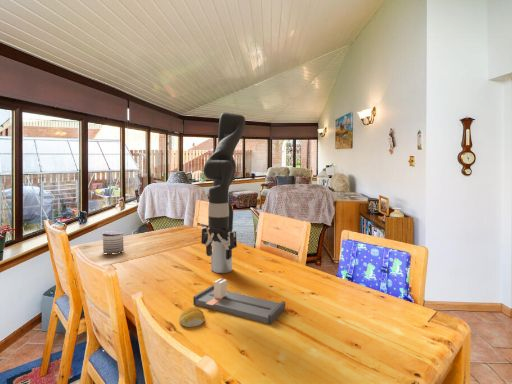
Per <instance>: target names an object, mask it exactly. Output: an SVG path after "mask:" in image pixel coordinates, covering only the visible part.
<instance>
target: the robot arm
mask: <svg viewBox="0 0 512 384" xmlns="http://www.w3.org/2000/svg"><path fill="white" fill-rule="evenodd" d="M245 126H246V118H245V116H244V115H241V114H237V113H231V112H225V111H224V112H222V113H220V116H219V122H218V133H217V134H218V135H217V137H218V139H217V145H216V148H215V150H214V153H212V154H211V156H209V158H208V159H207V160H206V161H205V163H204V166H203V174H204V177H205V178H207V179H209V180H213V185H212V186H210V187H209V189H208V212H207V213H208V220H207V221H208V222H207V223H208V225H207V226H208V227H204V228H202V229H201V244H202V245H205V253H206V256H207V257H210V264H211V265H210V267H211V268H210V269H211V270H210V271H213V272H214V273H215V274H226V273H231V272H232V271H233V252H232V251H233V250H234V249H236V248H237V247H238V245H237V231H233V228H234V227H233V225H234V208H233V207H234V206H233V205H232V203H230V202H229V189H230V186H231V184H232V182H233V181H234V180H235V175H236V160H235V159H234V157H233V155H234V152H235V150H236V147H237V145H238V144H239V142H240V140H241V139H242V136H243V134H244V133H245V132H244V131H245V128H246V127H245Z"/></svg>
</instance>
